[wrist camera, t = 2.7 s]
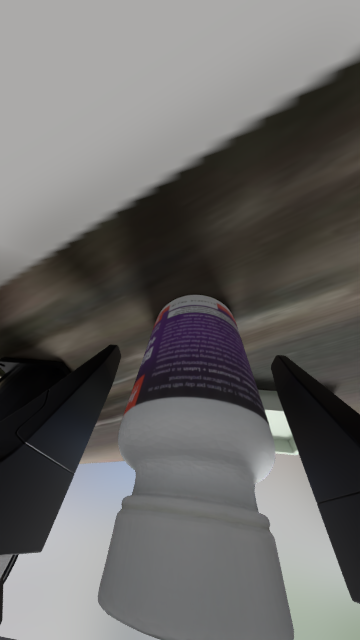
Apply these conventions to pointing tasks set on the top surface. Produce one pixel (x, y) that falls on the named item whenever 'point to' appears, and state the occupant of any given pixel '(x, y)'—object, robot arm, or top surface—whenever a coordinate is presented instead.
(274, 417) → the tray
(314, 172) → the top surface
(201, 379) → the pill bottle
